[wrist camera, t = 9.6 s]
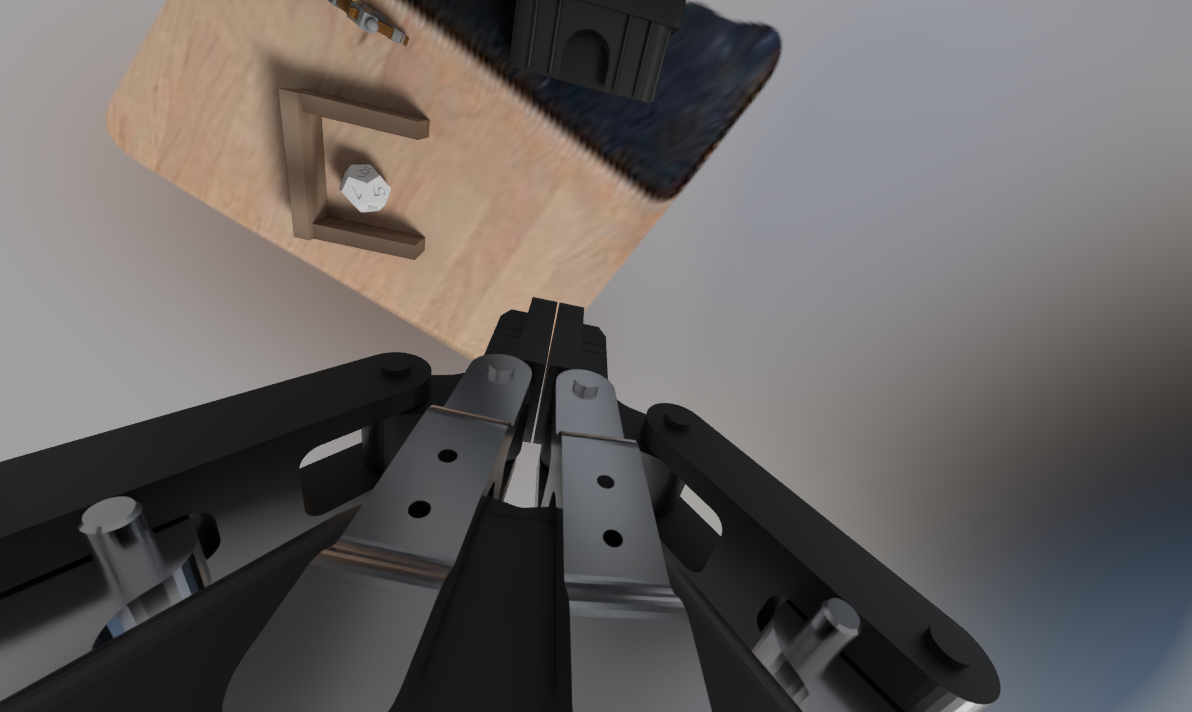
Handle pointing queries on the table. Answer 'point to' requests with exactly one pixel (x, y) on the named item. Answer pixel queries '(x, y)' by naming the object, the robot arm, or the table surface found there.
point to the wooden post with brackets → (370, 20)
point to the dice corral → (309, 169)
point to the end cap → (596, 42)
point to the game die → (365, 188)
